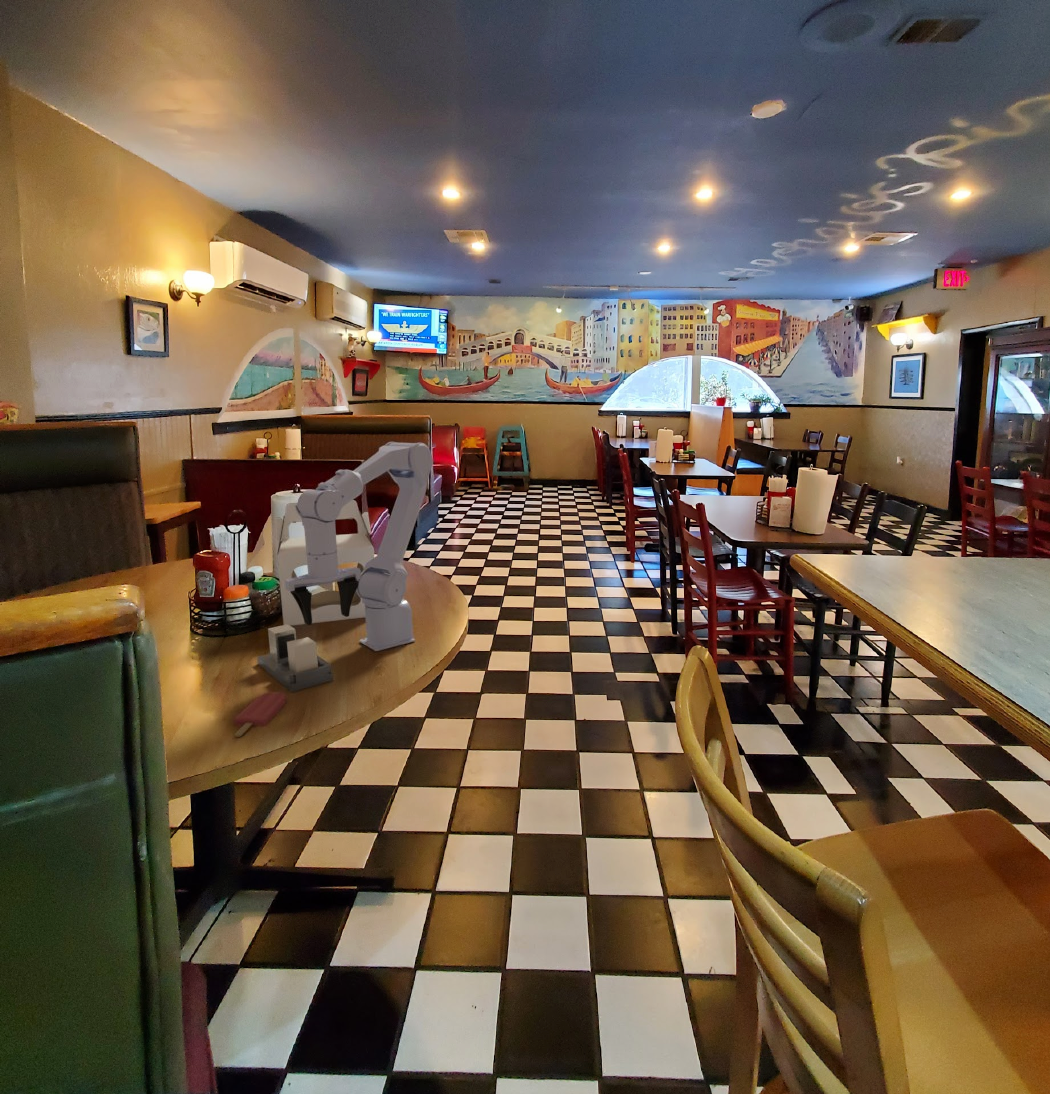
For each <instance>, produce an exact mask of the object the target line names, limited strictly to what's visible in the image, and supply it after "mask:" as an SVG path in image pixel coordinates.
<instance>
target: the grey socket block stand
mask: <svg viewBox="0 0 1050 1094" xmlns="http://www.w3.org/2000/svg"><path fill="white" fill-rule="evenodd" d="M296 631H297V630H296V628H294V627H293V626H290V625H288V624H287V625H284V624H283V625H279V626H274V627H269V628H267V632H268V633H267V635H268V642H269V643H268V644H269V653H268V654H263V655H259V656H256V657H257V658H256V659H257V665H259V666H260V667H261V668H262V669H263V670H264V671H265V672H267V673H268V674H269V675H271V676H272V678H273V679H275V680H276V681H277V682H279V683H280V685H282V686H283V687H284V688H286V689H287V690H288V691H289V692H290V693H293V692H297V691H300V690H305V689H308V688H311V687H315V686H319V685H323V684H326V683H329V682H333V681H334V674H333V672H332V664H331V663H329V662H328V661H326V660H325V659H324V658H322V657H320V656H319V655H317V661H318V667H317V668H313V669H309V670H306V671H302V672H298V673H294V674H293V673H292V672H291V671H290V670H289V659H288V649H287V642H289V641H293V640H297V635H296V634H297V633H296Z"/></svg>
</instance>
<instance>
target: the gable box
mask: <svg viewBox="0 0 1050 1094" xmlns="http://www.w3.org/2000/svg"><path fill="white" fill-rule="evenodd" d="M297 503H298V502H289V503H288V504H286V506H285V513H284V515H283V517H282V518H281V517H278V516H277V517H275V526H274V527H275V531H274V533H275V541H277V546H276V547H277V548H276V549H277V552H276V556H277V567H278V578H279V588H280V590H279V591H280V600H281V609H282V611H281V612H282V622H283V625H287V624H288V625H290V626H291V627H293V626H300V625H307V624H306V623H305V622H304V618H303V615H302V612H301V610H300V608H299V606H298V604H297V602H296V600H295V598H294V597H293V595H292V594H291V592H290V591H288V590H286V587H285V580H286V579H291V578H295V577H298V576H297V573H296V572H295V570H296V569H297V568H299V567H303V566H307V555H306V543H305V536H304V537H292V538H291V537H290V531H289V528H290V527H289V526H290V525H291V524H297V523H300V522H301V523H302V519H301V517H300V516H299V515H298V513H297V511H296V508H295V506H296V505H297ZM346 519H347V520H348V519H349V520H353V519H354V520H355V521H356V524H357V533H349V534H348V533H347V534H336V542H337V556H338V566H340V565H344V564H349V563H356V564H357V565H356V568H359V569H360V573H362V571H363V570H364V568H365V565H366V563H367V562H369V561H370V560H372V559H373V558H375V548H374V547H375V546H374V543H373V541H372V538H371V536H370V534H371V533H372V529H371V525H370V524H371V523H370V518H369V512H368V511H363V513H362V512H361V511H360V510H359V507H358V502H357V501H356V500H354V499H353V500H352V501H350V502H349V503H347V504H346V505H344V507H342V508H341V511H340V514H339V516H338V517H337V518H336V519H335V520H346ZM356 580H357V579H356ZM311 614H312V624H319V623H327V622H335V621H337V622H338V621H345V620H354V619H362V618H363V619H364V618H365V604H364V603H362V598H361V597H359V596H358V594H357V592H355V594H354V596H353V599H352V603H351V607H350V612H349V616H348V617H345V616H343V615H342V614H341V606H340V594H339V590H324V591H320V592H317V593H314V594H312V596H311Z"/></svg>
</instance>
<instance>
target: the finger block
mask: <svg viewBox="0 0 1050 1094" xmlns="http://www.w3.org/2000/svg"><path fill="white" fill-rule="evenodd" d="M287 649H288V659H289V670H290V671H291V672H292V673H293V674H294V673H298V672H302V671H306V670H309V669H313V668H317V667H318V661H317V656H318V651H317V643H316V641H314V640H313V639H311V638H310V637H308V636H306V637H302V638H298V639H296V640H293V641H289V642H287Z"/></svg>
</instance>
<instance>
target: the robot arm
mask: <svg viewBox="0 0 1050 1094" xmlns="http://www.w3.org/2000/svg"><path fill="white" fill-rule="evenodd" d="M433 464H434V458H433V455H432V453H431V450H430V448H429V446H428V445H427V444H426V443H423V442H412V443H411V442H395V441H389V442H387V443H386V444H384V445H382V446H380V447H378V451H377V452H376V453H375V454H373V455H371V457H369V458H368V459H367V460H365V461H364V462H363V463H361V464H360V465H359V466H358V467H356V468H355V469H354V470H350V469H338V470H337V471H335V475H334V476H333V477H330V479H327V480H326V481H325V482H323V481H322V482H320V483H318V484H317V487H316V488H315V489H306V490H305V491H303V492H302V493H301V494H300V495H299V496H298V500H297V502H296V503H297V505H296V506H295V508H296V511H297V513H298V515H299V516H300V517H301V519H302V522H301V525H302V526H303V529H304V537H305V543H306V555H307V565H306V566H307V573H306V574H302V575H298V576H297V577H295V578H291V579H286V580H285V587H286V590H288V591H290V592H291V594H292V595H293V597H294V598H295V600H296V602H297V604H298V606H299V608H300V610H301V612H302V615H303V618H304V622H305V623H306V624H305V625H307V626H311V625H313V623H312V614H311V596H312V595H313V594H312V592H311V591H309V588H310V587H315V586H321V585H327V584H332V583H336V584H337V588H338V591H339V594H340V606H341V614H342V615H343V616H345V617H348V616H349V612H350V607H351V603H352V599H353V596H354V594H355V592H357V594H358V596H359V597H361V598H362V603H364V604H365V617H364V618H365V629H366V630H365V631H366V637H364V638H361V639H359V643H361V644H363V645H364V646H366V647H368V648H370V649H371V650H373V651H375V652H379V651H383V650H387V649H391V648H394V647H398V646H403V645H405V644H409V643H413V642H415V640H416V639H415V638H414V632H413V627H414V626H413V612H412V608H411V606H410V603H409V602H408V601H407V600H406V599H404V597H405V595H406V593H407V579H408V576H409V574H408V572H407V570H406V569H405V567H404V565H402V564H403V561H404V557H405V556H406V555H405V554H406V552H407V548H408V545H409V544H410V543H409V542H410V539H411V536H412V534H413V531H414V527H415V524H416V521H417V518H418V516H419V513H420V510H421V507H422V504H423V501H424V499H425V498H424V497H425V495H426V492H427V487H428V480H429V477H430V473H431V470H432V468H433ZM386 472H387V473H388V474H389V475H390V477H391V479H392V480H393V482H394V483H396V484H397V485H398V487H399V491H398V494H397V497H396V500H395V502H394V505H393V508H392V511H391V515H390V517H389V520H388V523H387V525H386V529H385V531H384V535H383V536H382V537H383V538H382V540H381V542H380V546H379V549H378V552H377V554H376V556H374V558H373V559H372V560H370V561H369V562H367V563H366V565H365V568H364V570H363V571H362V573H360V569H359V568H357V566H356V567H349V568H348V567H347V568H339V565H338V556H337V542H336V535H337V532H336V520H337V519H336V518H337V517H338V516H339V514H340V511H341V508H342V507H344V505H346V504H347V503H349V502H350V501H352V500H354V499H356V498H358V497H359V496H360V495H362V493H363V492H364V491H363V490H364V486H365V485H366V484H368V483H369V482H371V481H372V480H374V479H376V478H378V477H379V476H382V474H384V473H386ZM356 579H357V580H356Z"/></svg>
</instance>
